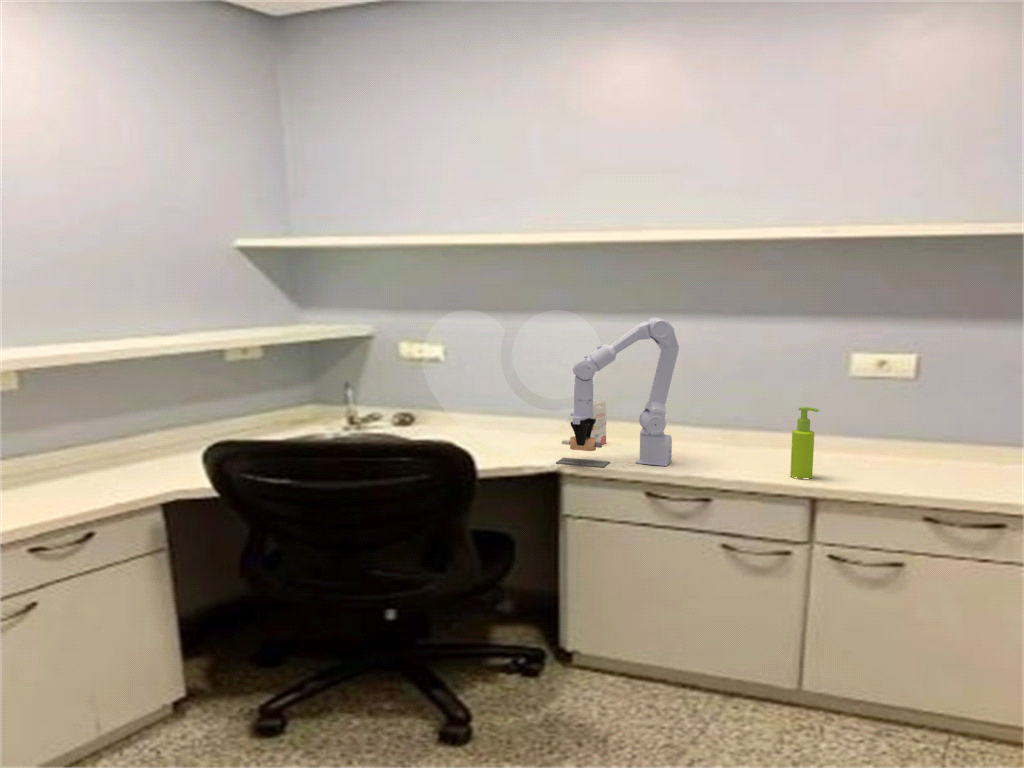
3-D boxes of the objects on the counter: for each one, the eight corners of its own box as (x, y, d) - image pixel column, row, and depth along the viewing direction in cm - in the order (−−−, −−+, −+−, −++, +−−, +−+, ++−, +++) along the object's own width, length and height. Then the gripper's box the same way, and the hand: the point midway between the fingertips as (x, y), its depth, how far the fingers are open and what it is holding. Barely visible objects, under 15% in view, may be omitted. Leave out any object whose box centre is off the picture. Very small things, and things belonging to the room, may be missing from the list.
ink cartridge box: (593, 441, 285) (594, 399, 283) (606, 443, 282) (607, 400, 280) (580, 446, 278) (580, 402, 276) (593, 447, 275) (593, 404, 273)
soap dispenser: (813, 481, 231) (816, 410, 228) (788, 477, 235) (791, 408, 232) (818, 476, 236) (821, 407, 233) (793, 473, 240) (796, 405, 237)
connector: (603, 449, 252) (603, 438, 252) (599, 452, 248) (599, 440, 248) (565, 446, 257) (565, 435, 256) (560, 448, 253) (560, 437, 253)
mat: (610, 462, 253) (610, 461, 253) (603, 467, 247) (603, 466, 247) (563, 458, 259) (563, 457, 259) (555, 463, 253) (555, 462, 253)
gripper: (578, 395, 259) (578, 438, 260) (563, 402, 245) (562, 447, 247) (600, 396, 256) (599, 440, 258) (586, 403, 243) (585, 449, 244)
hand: (583, 443), depth 252 cm, fingers closed on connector, 4 cm apart
